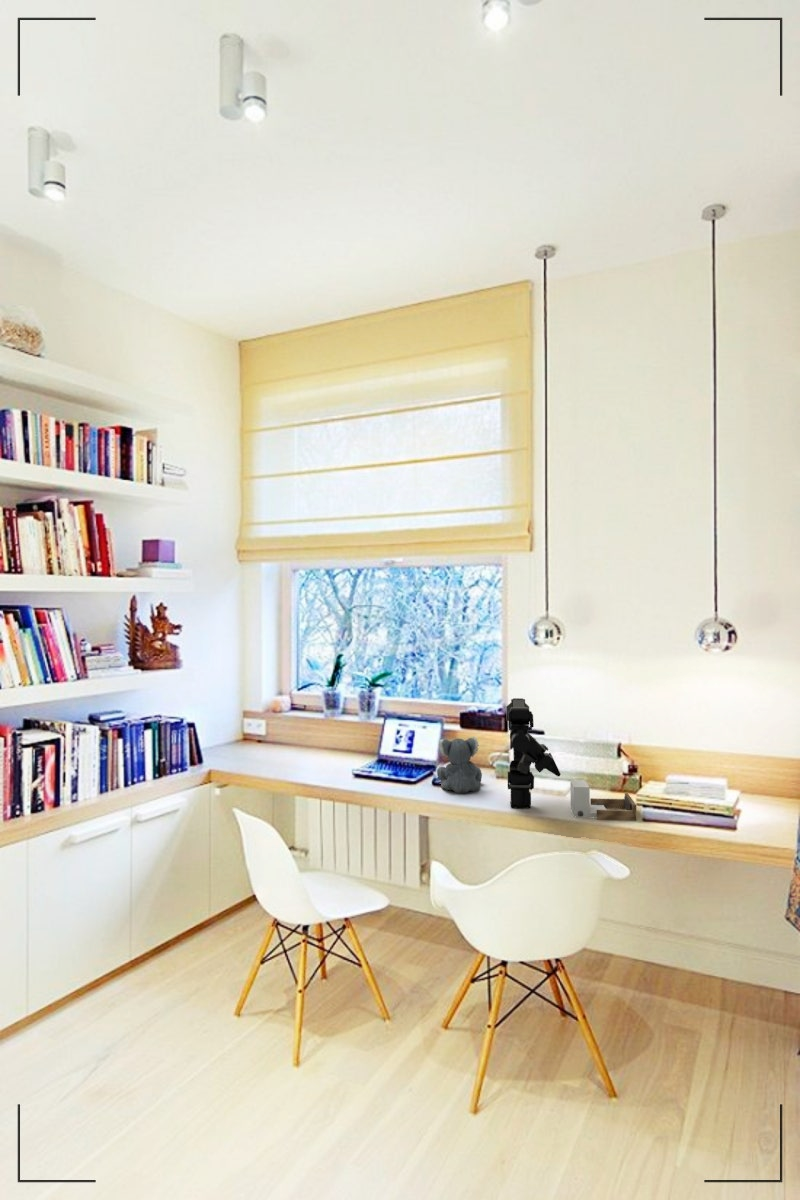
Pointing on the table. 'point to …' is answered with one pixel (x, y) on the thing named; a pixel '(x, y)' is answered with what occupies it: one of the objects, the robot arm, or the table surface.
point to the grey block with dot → (582, 800)
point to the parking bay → (616, 803)
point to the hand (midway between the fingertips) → (559, 775)
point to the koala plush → (459, 765)
